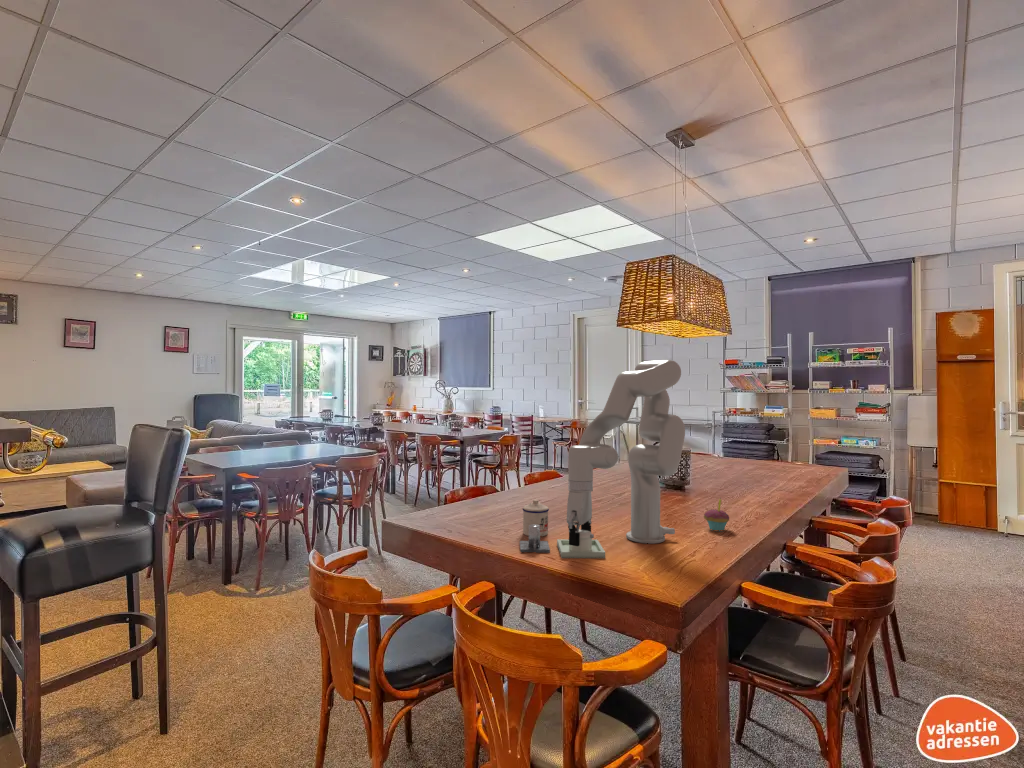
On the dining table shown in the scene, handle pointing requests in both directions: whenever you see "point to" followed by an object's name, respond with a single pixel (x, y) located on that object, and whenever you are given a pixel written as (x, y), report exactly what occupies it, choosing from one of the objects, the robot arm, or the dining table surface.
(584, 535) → the white earbud case
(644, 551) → the dining table surface
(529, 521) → the teacup with lid
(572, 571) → the dining table surface
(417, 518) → the dining table surface
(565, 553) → the tray
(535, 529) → the post stand
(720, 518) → the cupcake
